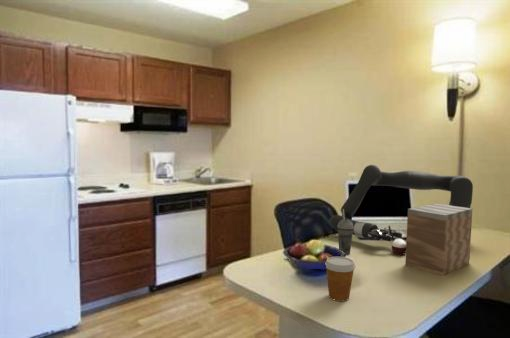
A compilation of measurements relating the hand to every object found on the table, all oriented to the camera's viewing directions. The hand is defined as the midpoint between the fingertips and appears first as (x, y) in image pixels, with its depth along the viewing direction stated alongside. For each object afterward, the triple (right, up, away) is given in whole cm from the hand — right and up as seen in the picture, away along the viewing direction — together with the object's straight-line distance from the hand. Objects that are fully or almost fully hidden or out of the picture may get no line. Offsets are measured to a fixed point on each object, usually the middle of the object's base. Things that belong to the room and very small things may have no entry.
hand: (396, 237), depth 166 cm
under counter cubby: (+11, -8, -14) cm, 20 cm away
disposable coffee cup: (-36, -11, -47) cm, 61 cm away
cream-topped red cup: (+1, -7, -1) cm, 7 cm away
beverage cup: (-24, -7, -2) cm, 25 cm away
